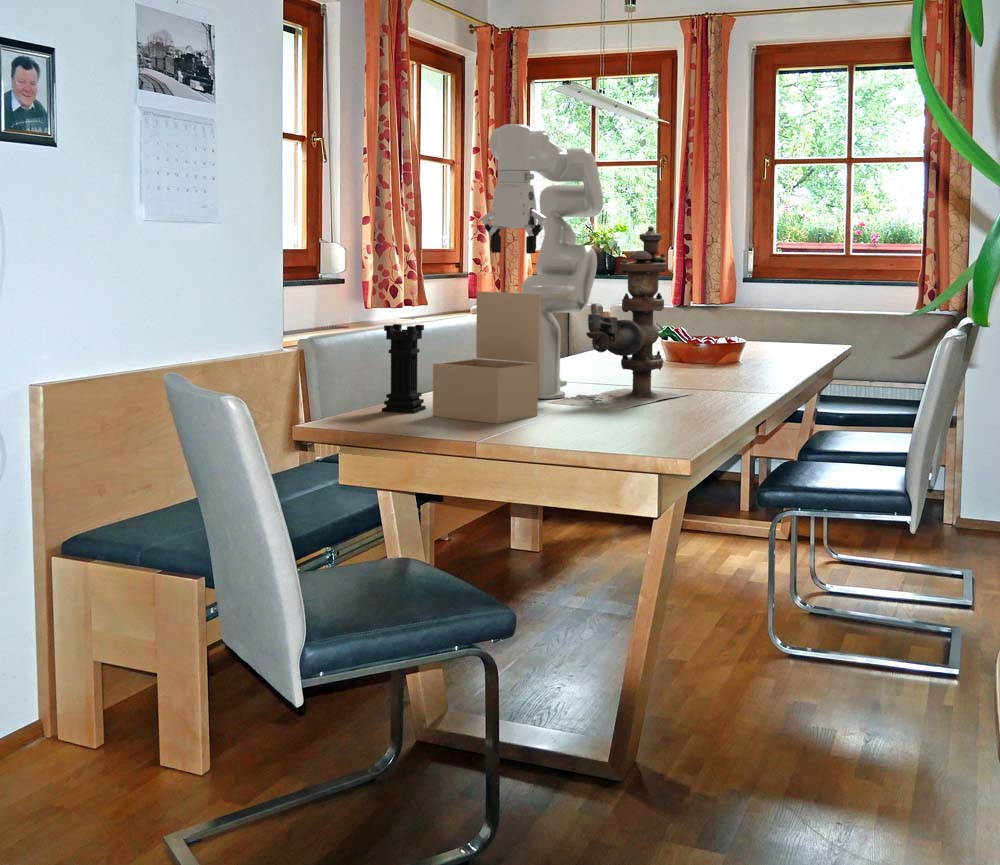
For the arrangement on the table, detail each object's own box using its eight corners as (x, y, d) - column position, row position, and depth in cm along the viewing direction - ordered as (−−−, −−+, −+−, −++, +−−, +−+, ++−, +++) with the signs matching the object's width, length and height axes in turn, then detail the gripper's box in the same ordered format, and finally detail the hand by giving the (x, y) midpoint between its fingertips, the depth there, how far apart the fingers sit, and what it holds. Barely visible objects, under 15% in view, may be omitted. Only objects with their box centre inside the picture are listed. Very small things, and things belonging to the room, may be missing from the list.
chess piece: (425, 409, 265) (426, 324, 262) (414, 413, 258) (414, 326, 255) (394, 407, 268) (394, 323, 264) (381, 411, 260) (381, 325, 257)
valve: (618, 412, 269) (628, 222, 261) (547, 402, 280) (555, 220, 273) (693, 396, 303) (704, 228, 296) (627, 388, 314) (636, 226, 307)
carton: (474, 408, 267) (474, 358, 265) (537, 415, 257) (538, 363, 255) (432, 416, 254) (433, 363, 252) (497, 423, 244) (498, 369, 242)
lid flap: (476, 357, 265) (487, 356, 269) (538, 362, 255) (549, 361, 259) (476, 291, 263) (487, 290, 266) (539, 293, 253) (550, 293, 256)
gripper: (553, 179, 260) (552, 253, 263) (491, 180, 269) (491, 252, 272) (537, 177, 254) (536, 254, 257) (474, 179, 263) (474, 252, 266)
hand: (513, 253), depth 265 cm, fingers open, 9 cm apart
